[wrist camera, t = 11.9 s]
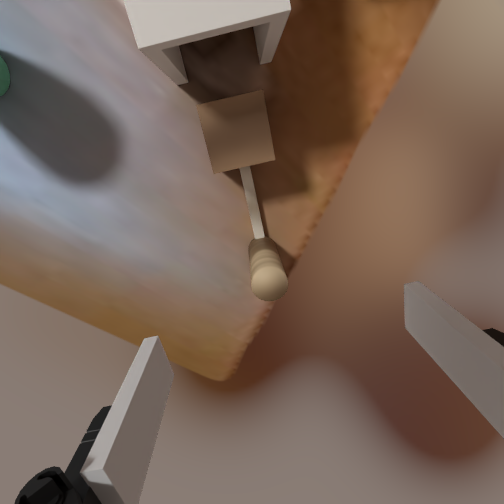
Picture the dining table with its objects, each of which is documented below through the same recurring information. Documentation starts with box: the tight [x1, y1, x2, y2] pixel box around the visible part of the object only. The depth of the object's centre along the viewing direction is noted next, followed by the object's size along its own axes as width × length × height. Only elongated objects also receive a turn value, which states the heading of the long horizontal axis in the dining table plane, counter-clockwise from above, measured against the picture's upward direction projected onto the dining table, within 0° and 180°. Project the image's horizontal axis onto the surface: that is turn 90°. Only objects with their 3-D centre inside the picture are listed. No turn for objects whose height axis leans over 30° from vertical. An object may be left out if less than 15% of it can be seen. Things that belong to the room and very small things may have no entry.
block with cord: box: [196, 89, 288, 301], centre depth 29 cm, size 18×6×10 cm, turn 12°
